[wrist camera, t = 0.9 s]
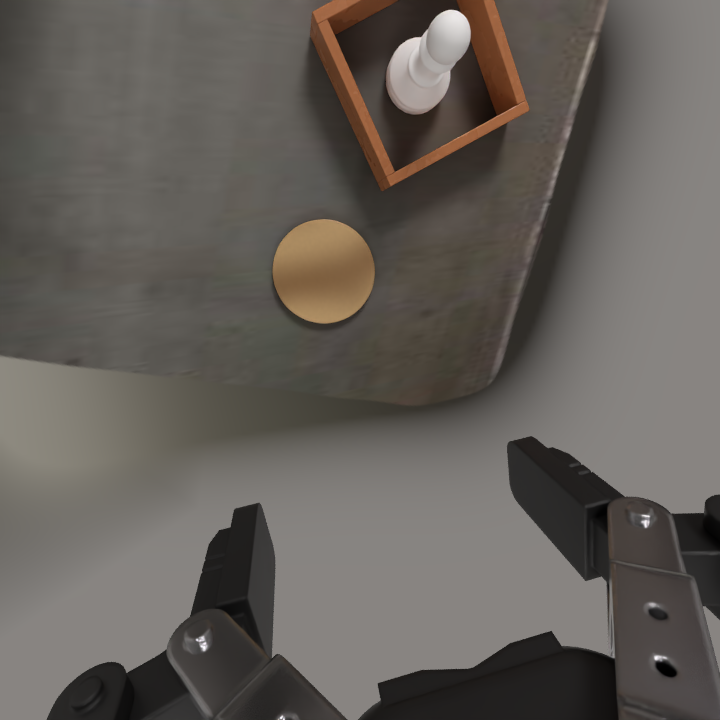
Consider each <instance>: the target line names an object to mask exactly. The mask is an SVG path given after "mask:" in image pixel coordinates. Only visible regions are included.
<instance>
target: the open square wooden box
mask: <svg viewBox="0 0 720 720" xmlns="http://www.w3.org/2000/svg"><path fill="white" fill-rule="evenodd" d="M397 1H399V0H333V1H331V2H330V3H328V4H326V5H324V6H322V7H320V8H319V9H317V10H315V11H313V12H312V19H311V30H310V37H311V39H312V41H313V43H314V45H315V48H316V50H317V52H318V54H319V56H320V59H321V61H322V63H323V65H324V67H325V69H326V72H327V74H328V76H329V78H330V80H331V83H332V85H333V87H334V89H335V91H336V93H337V96H338V98H339V100H340V102H341V104H342V107H343V109H344V111H345V113H346V115H347V117H348V120H349V122H350V124H351V126H352V128H353V131H354V133H355V135H356V137H357V139H358V141H359V144H360V146H361V148H362V150H363V152H364V154H365V157H366V159H367V161H368V163H369V165H370V168H371V170H372V172H373V174H374V176H375V178H376V181H377V182H378V185H379V187H380V189H381V191H384V190H385V189H387V188H389V187H391V186H393V185H394V184H396V183H398V182H400V181H402V180H404V179H405V178H407V177H409V176H411V175H413V174H415V173H416V172H418V171H420V170H422V169H424V168H426V167H427V166H429V165H431V164H433V163H435V162H436V161H438V160H440V159H442V158H444V157H446V156H447V155H449V154H451V153H453V152H455V151H457V150H458V149H460V148H462V147H464V146H466V145H468V144H469V143H471V142H473V141H475V140H477V139H478V138H480V137H482V136H484V135H486V134H488V133H489V132H491V131H493V130H495V129H497V128H499V127H500V126H502V125H504V124H506V123H508V122H510V121H511V120H513V119H515V118H517V117H519V116H520V115H522V114H524V113H526V112H528V111H529V107H528V104H527V101H525V100H526V98H525V95H524V92H523V89H522V85H521V82H520V79H519V76H518V73H517V70H516V67H515V64H514V61H513V58H512V54H511V51H510V48H509V45H508V42H507V39H506V36H505V33H504V30H503V27H502V24H501V20H500V17H499V14H498V11H497V8H496V5H495V2H494V0H457V3H458V6H459V9H460V12H461V13H462V14H463V15H464V16H465V17H466V19H467V20H468V23H469V25H470V30H471V38H470V41H471V43H472V46H473V49H474V52H475V55H476V58H477V61H478V64H479V66H480V69H481V72H482V75H483V78H484V81H485V84H486V87H487V89H488V92H489V95H490V98H491V101H492V104H493V107H494V109H495V112H496V115H497V116H496V117H494V118H493V119H491V120H489V121H487V122H485V123H484V124H482V125H480V126H478V127H476V128H474V129H473V130H471V131H469V132H467V133H465V134H463V135H462V136H460V137H458V138H456V139H454V140H452V141H451V142H449V143H447V144H445V145H443V146H441V147H440V148H438V149H436V150H434V151H432V152H431V153H429V154H427V155H425V156H423V157H421V158H420V159H418V160H416V161H414V162H412V163H410V164H409V165H407V166H405V167H403V168H401V169H399V170H398V171H396V172H395V171H394V169H393V167H392V164H391V162H390V160H389V157H388V155H387V153H386V151H385V148H384V146H383V144H382V142H381V139H380V137H379V135H378V133H377V130H376V128H375V126H374V124H373V121H372V119H371V117H370V114H369V112H368V110H367V108H366V105H365V103H364V101H363V99H362V96H361V94H360V92H359V90H358V87H357V85H356V83H355V80H354V78H353V76H352V74H351V71H350V69H349V67H348V65H347V62H346V60H345V58H344V56H343V53H342V51H341V49H340V47H339V44H338V42H337V40H336V37H335V35H336V34H338V33H340V32H341V31H343V30H345V29H347V28H349V27H351V26H353V25H354V24H356V23H358V22H360V21H362V20H364V19H365V18H367V17H369V16H371V15H373V14H375V13H376V12H378V11H380V10H382V9H384V8H386V7H388V6H389V5H391V4H393V3H395V2H397Z"/></svg>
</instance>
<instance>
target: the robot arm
mask: <svg viewBox="0 0 720 720" xmlns="http://www.w3.org/2000/svg"><path fill="white" fill-rule="evenodd" d="M507 453H508V467H509V480H510V487H511V491H512V493H513V495H514V498H515V499H516V501H517V502H518V504H519V505H520V506H521V507H522V508H523V509H524V511H525V512H526V513H527V514H528V515H529V516H530V517H531V519H532V520H533V521H534V522H535V523H536V524H537V526H538V527H539V528H540V529H541V530H542V531H543V532H544V534H545V535H546V536H547V537H548V538H549V539H550V540H551V541H552V543H553V544H554V545H555V546H556V547H557V549H558V550H559V551H560V552H561V553H562V554H563V555H564V557H565V558H566V559H567V560H568V561H569V562H570V564H571V565H572V566H573V567H574V568H575V569H576V570H577V571H578V573H579V574H580V575H581V576H582V577H583V578H584V580H585V581H587V580H591V579H594V578H597V577H601V576H602V577H603V578H604V580H606V582H607V618H608V619H607V621H608V654H609V655H608V656H607V655H605V654H602V653H598V652H596V651H592V650H589V649H584V648H579V647H570V646H561V645H560V643H559V642H558V640H557V639H556V637H555V636H554V634H553V633H552V631H550V632H547V633H543V634H540V635H537V636H533V637H530V638H526V639H523V640H520V641H517V642H513V643H510V644H508V645H507V646H506V647H504V648H502V649H501V650H499V651H498V652H496V653H495V654H493V655H492V656H490V657H489V658H487V659H486V660H484V661H483V662H481V663H480V664H478V665H477V666H475V667H473V668H470V669H446V670H445V669H444V670H421V671H417V672H414V673H410V674H407V675H404V676H400V677H398V678H394V679H391V680H387V681H384V682H381V683H378V688H379V693H380V698H381V701H379V702H378V703H376V704H375V705H373V706H372V707H371V708H370V709H368V710H367V711H366V712H365V713H364V714H363V715H362V716H361V717H360V718H359V719H358V720H720V672H719V668H718V665H717V661H716V657H715V653H714V649H713V646H712V641H711V637H710V633H709V630H708V626H707V622H706V618H705V614H704V610H703V606H706V607H707V608H708V609H709V610H710V611H711V612H712V613H713V614H714V615H715V616H716V617H717V618H718V619H719V620H720V495H714V496H711V497H710V498H708V499H707V500H706V502H705V509H704V513H693V514H692V513H691V514H689V513H688V514H671V513H670V512H669V511H668V510H667V509H666V508H664V507H663V506H661V505H659V504H658V503H655V502H653V501H650V500H647V499H644V498H639V497H624V496H623V495H622V494H620V493H619V492H618V491H617V490H615V489H614V488H613V487H611V486H610V485H609V484H608V483H606V482H605V481H604V480H602V479H601V478H600V477H598V476H597V475H596V474H595V473H593V472H592V473H591V471H590V470H589V469H588V468H587V467H585V466H584V465H581V463H580V462H579V461H578V460H576V459H575V458H574V457H572V456H571V455H570V454H568V453H565V452H563V451H561V450H558V449H555V448H553V447H552V448H547V447H545V446H544V445H543V444H542V443H540V442H539V441H538V440H537V439H535V438H534V437H532V436H530V437H526V438H522V439H518V440H514V441H510V442H509V443H508V445H507ZM274 586H275V555H274V548H273V544H272V540H271V537H270V533H269V530H268V527H267V523H266V519H265V516H264V512H263V509H262V506H261V504H260V503H256V504H252V505H248V506H244V507H240V508H236V509H235V510H234V513H233V518H232V523H231V527H230V528H227V529H223V530H219V531H218V533H217V534H216V535H215V537H214V538H213V540H212V541H211V542H210V544H209V546H208V550H207V554H206V557H205V562H204V565H203V569H202V574H201V577H200V580H199V584H198V589H197V592H196V596H195V600H194V604H193V607H192V611H191V615H190V617H189V618H188V619H186V620H185V621H184V622H183V623H182V624H181V625H180V626H179V627H178V628H177V629H176V630H175V632H174V633H173V635H172V636H171V638H170V640H169V643H168V646H167V649H166V650H165V651H164V652H162V653H161V654H160V655H158V656H156V657H155V658H153V659H151V660H149V661H147V662H146V663H144V664H142V665H140V666H138V667H137V668H135V669H133V670H131V671H129V672H128V673H126V671H125V669H124V667H123V666H122V665H121V664H119V663H116V662H107V663H103V664H100V665H97V666H95V667H93V668H91V669H89V670H87V671H86V672H84V673H82V674H81V675H80V676H78V677H77V678H76V679H75V680H74V681H73V682H72V683H70V684H69V685H68V686H67V687H66V688H65V690H64V691H63V692H62V693H61V694H60V696H59V697H58V698H57V700H56V701H55V704H54V705H53V707H52V709H51V711H50V713H49V716H48V718H47V720H347V719H346V718H345V717H344V716H343V715H342V714H341V713H340V712H339V711H338V710H337V709H336V708H335V707H334V706H333V705H332V704H331V703H330V702H329V701H328V700H327V699H326V698H325V697H324V696H323V695H322V694H321V693H320V692H319V691H318V690H317V689H316V688H315V687H314V686H313V685H312V684H311V683H310V682H309V681H308V680H307V679H306V678H305V677H304V676H302V674H300V672H299V671H298V670H296V669H295V668H294V667H293V666H292V665H291V664H290V663H289V662H288V661H287V660H286V659H285V658H284V657H283V656H281V655H280V654H276V655H275V656H274V657H273V658H272V637H273V612H274V611H273V610H274Z"/></svg>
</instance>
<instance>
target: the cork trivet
mask: <svg viewBox="0 0 720 720" xmlns="http://www.w3.org/2000/svg"><path fill="white" fill-rule="evenodd" d="M374 277H375V267H374V261H373V257H372V254H371V251H370V249H369V247H368V245H367V244H366V242H365V241H364V239H363V238H362V237H361V236H360V235H359V234H358V233H357V232H356V231H355V230H353V229H352V228H351V227H349V226H347V225H345V224H343V223H340V222H337V221H334V220H327V219H319V220H312V221H309V222H305V223H303V224H301V225H299V226H297V227H296V228H294V229H293V230H292V231H290V232H289V233H288V234H287V235H286V236H285V238H284V239H283V240H282V242H281V243H280V245H279V247H278V249H277V251H276V254H275V257H274V261H273V280H274V285H275V288H276V291H277V293H278V295H279V297H280V299H281V300H282V302H283V303H284V304H285V305H286V307H287V308H288V309H289V310H291V311H292V312H293V313H294V314H296V315H297V316H299V317H301V318H303V319H305V320H307V321H310V322H315V323H334V322H338V321H341V320H344V319H346V318H348V317H350V316H351V315H353V314H354V313H355V312H357V311H358V310H359V309H360V308H361V307H362V306H363V305H364V303H365V302H366V300H367V299H368V297H369V295H370V293H371V290H372V287H373V283H374Z"/></svg>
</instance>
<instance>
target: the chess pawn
mask: <svg viewBox="0 0 720 720" xmlns="http://www.w3.org/2000/svg"><path fill="white" fill-rule="evenodd" d="M470 38H471V30H470V25H469V23H468V20H467V19H466V17H465V16H464V15H463V14H462V13H460V12H459V11H455V10H447V11H444V12H442V13H440V14H439V15H438V16H436V17H435V19H434V20H433V21H432V22H431V24H430V26H429V29H428V30H426V32H425V33H424V34H423V36H422V37H415V38H412V39H409V40H407V41H405V42H404V43H403V44H401V45H400V46H399V47H398V49H397V50H396V51H395V52H394V55H393V56H392V58H391V60H390V62H389V65H388V67H387V72H386V87H387V91H388V95H389V96H390V98H391V100H392V102H393V103H394V104H395V105H396V106H397V107H398V108H399V109H400V110H402V111H403V112H405V113H408V114H412V115H416V114H423V113H425V112H428V111H429V110H431V109H432V108H433V107H435V106H436V105H437V104H438V103H439V102H440V101H441V100H442V98H443V97H444V96H445V94H446V92H447V89H448V87H449V82H450V69H452V68H453V66H454V65H455V64H456V62H457V61H458V60H459V59H461V58H462V56H463V55H464V54H465V52H466V50H467V48H468V46H469V43H470Z"/></svg>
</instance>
